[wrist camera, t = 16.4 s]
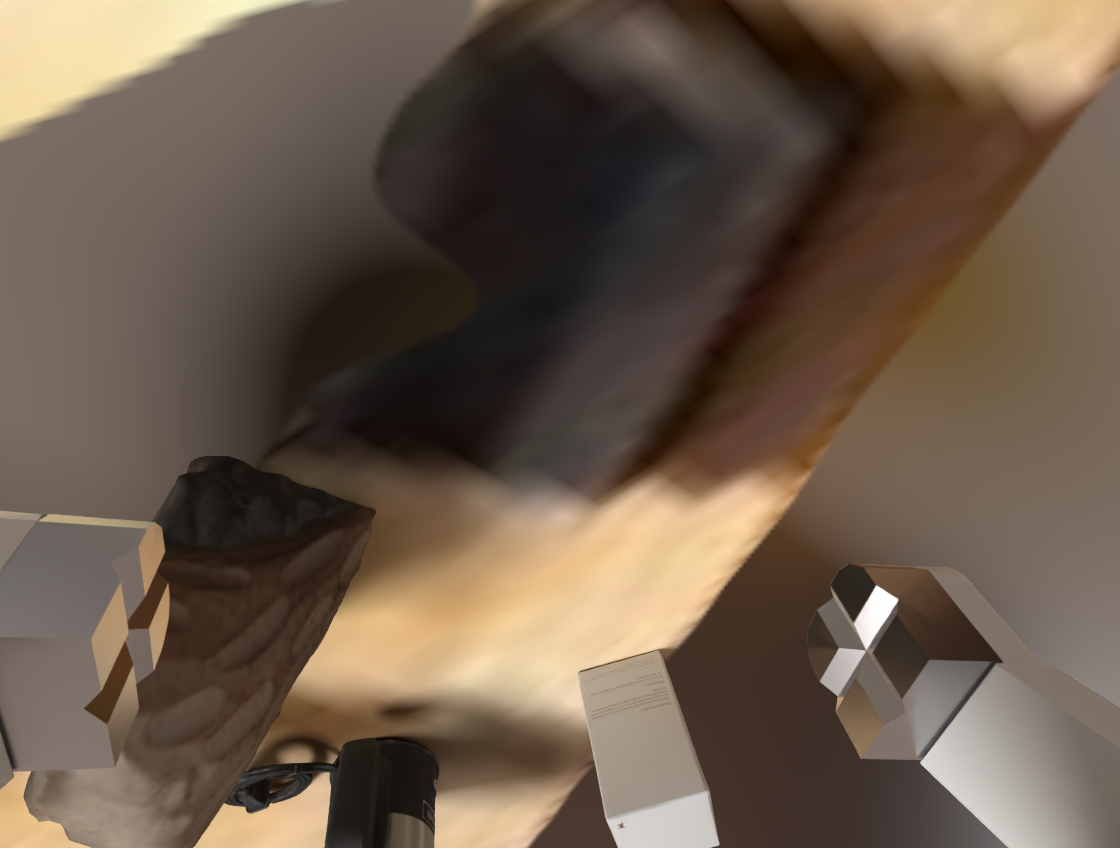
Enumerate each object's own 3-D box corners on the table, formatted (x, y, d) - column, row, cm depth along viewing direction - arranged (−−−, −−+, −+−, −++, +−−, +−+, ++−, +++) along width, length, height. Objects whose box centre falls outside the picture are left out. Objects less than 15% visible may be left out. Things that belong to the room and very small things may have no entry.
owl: (273, 622, 52) (189, 927, 35) (102, 536, 46) (-98, 850, 29) (384, 515, 48) (350, 796, 31) (213, 408, 43) (60, 680, 26)
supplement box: (593, 724, 63) (623, 874, 52) (575, 670, 59) (604, 820, 48) (674, 702, 63) (721, 848, 52) (662, 646, 59) (710, 792, 48)
